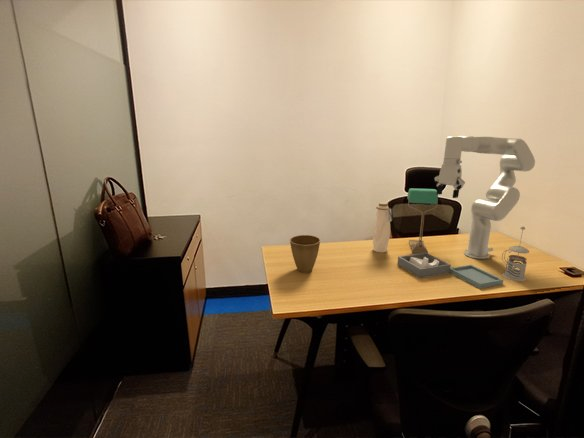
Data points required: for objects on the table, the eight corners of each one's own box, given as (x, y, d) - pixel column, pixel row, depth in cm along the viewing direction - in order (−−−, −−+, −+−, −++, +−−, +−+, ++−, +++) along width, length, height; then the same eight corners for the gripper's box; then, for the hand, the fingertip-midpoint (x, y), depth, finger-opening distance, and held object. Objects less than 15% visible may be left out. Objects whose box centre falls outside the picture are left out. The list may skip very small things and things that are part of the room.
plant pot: (288, 264, 179) (288, 235, 175) (317, 263, 181) (317, 234, 176) (291, 276, 165) (291, 245, 161) (321, 275, 166) (322, 244, 162)
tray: (470, 268, 174) (470, 264, 173) (502, 284, 157) (503, 279, 156) (448, 272, 170) (449, 268, 169) (479, 288, 152) (480, 283, 152)
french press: (518, 282, 158) (528, 230, 152) (494, 273, 168) (502, 224, 162) (530, 278, 162) (540, 227, 156) (506, 269, 172) (514, 221, 166)
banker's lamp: (405, 252, 196) (410, 192, 187) (402, 241, 215) (407, 186, 206) (434, 254, 193) (441, 193, 183) (428, 243, 212) (434, 186, 203)
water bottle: (392, 249, 201) (395, 202, 193) (387, 254, 193) (391, 205, 186) (375, 246, 206) (378, 200, 199) (370, 250, 199) (372, 203, 191)
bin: (425, 260, 185) (426, 252, 183) (449, 273, 168) (450, 264, 167) (397, 264, 179) (398, 256, 178) (419, 278, 163) (420, 269, 162)
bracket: (434, 275, 168) (439, 261, 167) (421, 273, 167) (426, 258, 165) (420, 265, 181) (425, 252, 179) (408, 263, 179) (413, 249, 178)
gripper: (472, 163, 164) (467, 198, 168) (442, 160, 179) (438, 192, 183) (461, 163, 161) (456, 199, 165) (432, 160, 176) (428, 193, 180)
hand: (447, 195), depth 174 cm, fingers open, 9 cm apart
